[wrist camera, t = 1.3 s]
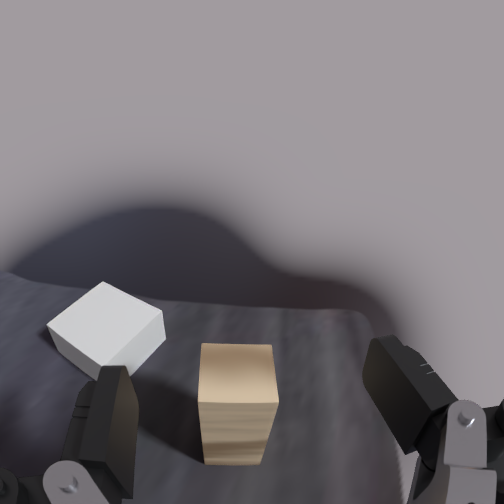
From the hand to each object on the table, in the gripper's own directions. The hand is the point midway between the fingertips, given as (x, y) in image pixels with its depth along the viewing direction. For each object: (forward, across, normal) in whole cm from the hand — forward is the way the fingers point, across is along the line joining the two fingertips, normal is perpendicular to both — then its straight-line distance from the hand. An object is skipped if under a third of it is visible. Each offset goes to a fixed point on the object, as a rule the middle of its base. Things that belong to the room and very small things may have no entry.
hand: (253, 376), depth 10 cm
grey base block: (+23, +14, +17) cm, 32 cm away
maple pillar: (+10, 0, +20) cm, 22 cm away
